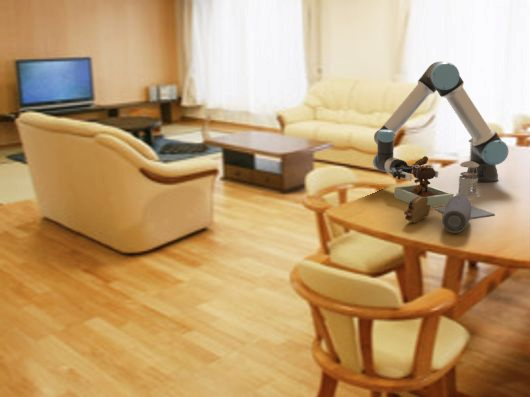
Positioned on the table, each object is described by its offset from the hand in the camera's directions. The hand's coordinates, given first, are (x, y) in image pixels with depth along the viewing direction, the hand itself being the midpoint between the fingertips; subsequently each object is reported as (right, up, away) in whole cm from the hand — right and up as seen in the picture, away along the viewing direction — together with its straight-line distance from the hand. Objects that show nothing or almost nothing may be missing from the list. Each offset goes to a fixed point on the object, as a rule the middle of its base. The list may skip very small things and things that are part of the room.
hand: (424, 176), depth 248 cm
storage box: (0, -11, +3) cm, 11 cm away
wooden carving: (-10, -19, -25) cm, 33 cm away
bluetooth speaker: (+3, -20, -33) cm, 39 cm away
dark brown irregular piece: (0, -11, +3) cm, 11 cm away
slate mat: (+12, -15, -16) cm, 25 cm away
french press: (+23, -8, +11) cm, 26 cm away
